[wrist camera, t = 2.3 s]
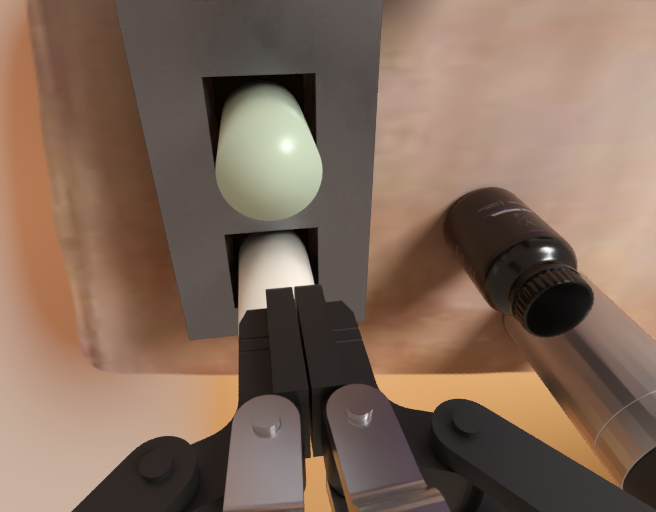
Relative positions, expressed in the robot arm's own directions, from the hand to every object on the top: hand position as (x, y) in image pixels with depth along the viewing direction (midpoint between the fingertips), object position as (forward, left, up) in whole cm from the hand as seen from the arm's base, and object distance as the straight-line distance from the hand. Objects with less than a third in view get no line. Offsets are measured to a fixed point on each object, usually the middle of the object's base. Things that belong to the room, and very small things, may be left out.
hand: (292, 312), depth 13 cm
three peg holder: (0, 0, -22) cm, 22 cm away
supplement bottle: (-16, -13, -22) cm, 30 cm away
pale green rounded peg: (0, 0, -18) cm, 18 cm away
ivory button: (-9, +3, -18) cm, 20 cm away
